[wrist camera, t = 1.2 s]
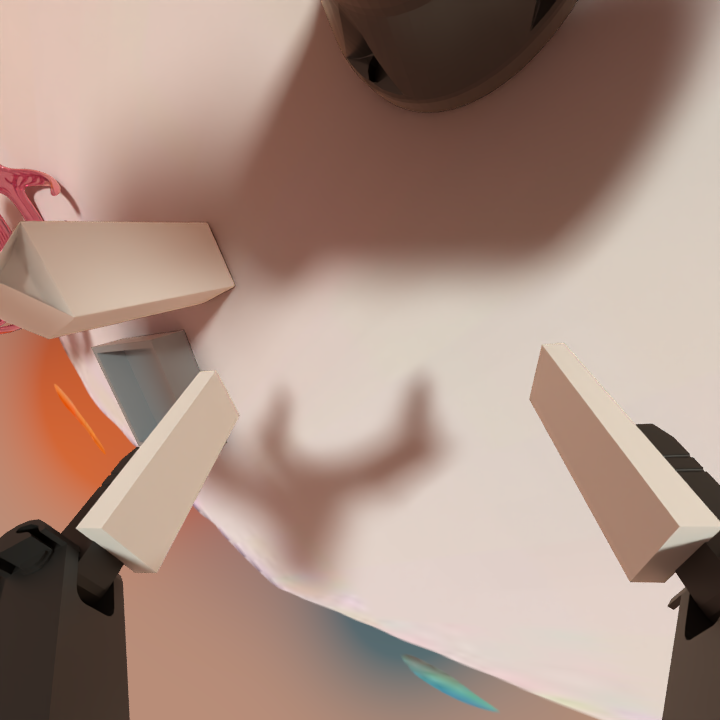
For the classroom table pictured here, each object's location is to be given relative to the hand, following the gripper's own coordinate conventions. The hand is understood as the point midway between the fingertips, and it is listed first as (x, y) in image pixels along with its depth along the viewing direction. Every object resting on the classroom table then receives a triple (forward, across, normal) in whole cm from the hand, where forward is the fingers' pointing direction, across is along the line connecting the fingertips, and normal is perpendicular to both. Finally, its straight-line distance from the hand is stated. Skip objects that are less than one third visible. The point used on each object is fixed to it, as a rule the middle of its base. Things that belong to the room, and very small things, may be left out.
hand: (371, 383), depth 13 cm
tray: (+26, -36, -20) cm, 48 cm away
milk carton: (+24, -20, -1) cm, 32 cm away
